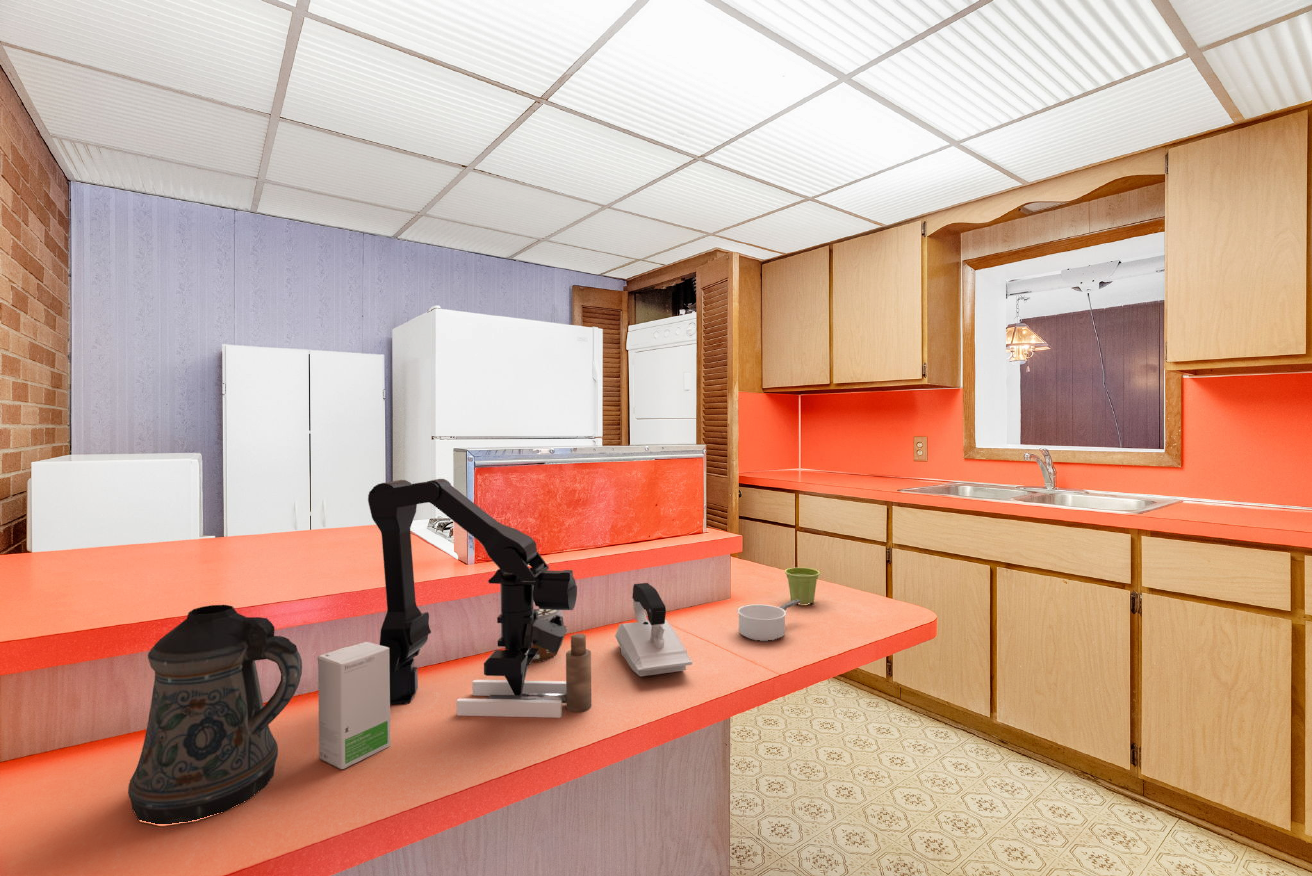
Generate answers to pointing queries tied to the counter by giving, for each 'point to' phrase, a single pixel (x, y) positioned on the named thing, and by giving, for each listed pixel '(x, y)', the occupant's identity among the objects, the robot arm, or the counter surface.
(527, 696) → the rod
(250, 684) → the beer stein
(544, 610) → the food container
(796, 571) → the plant pot
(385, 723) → the skincare box
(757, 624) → the saucepan
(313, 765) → the counter surface
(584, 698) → the walnut skittle
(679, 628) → the counter surface
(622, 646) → the iron
